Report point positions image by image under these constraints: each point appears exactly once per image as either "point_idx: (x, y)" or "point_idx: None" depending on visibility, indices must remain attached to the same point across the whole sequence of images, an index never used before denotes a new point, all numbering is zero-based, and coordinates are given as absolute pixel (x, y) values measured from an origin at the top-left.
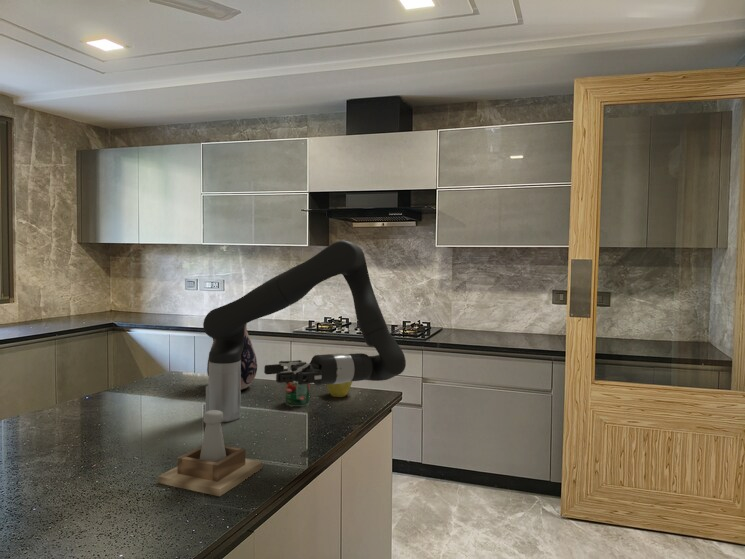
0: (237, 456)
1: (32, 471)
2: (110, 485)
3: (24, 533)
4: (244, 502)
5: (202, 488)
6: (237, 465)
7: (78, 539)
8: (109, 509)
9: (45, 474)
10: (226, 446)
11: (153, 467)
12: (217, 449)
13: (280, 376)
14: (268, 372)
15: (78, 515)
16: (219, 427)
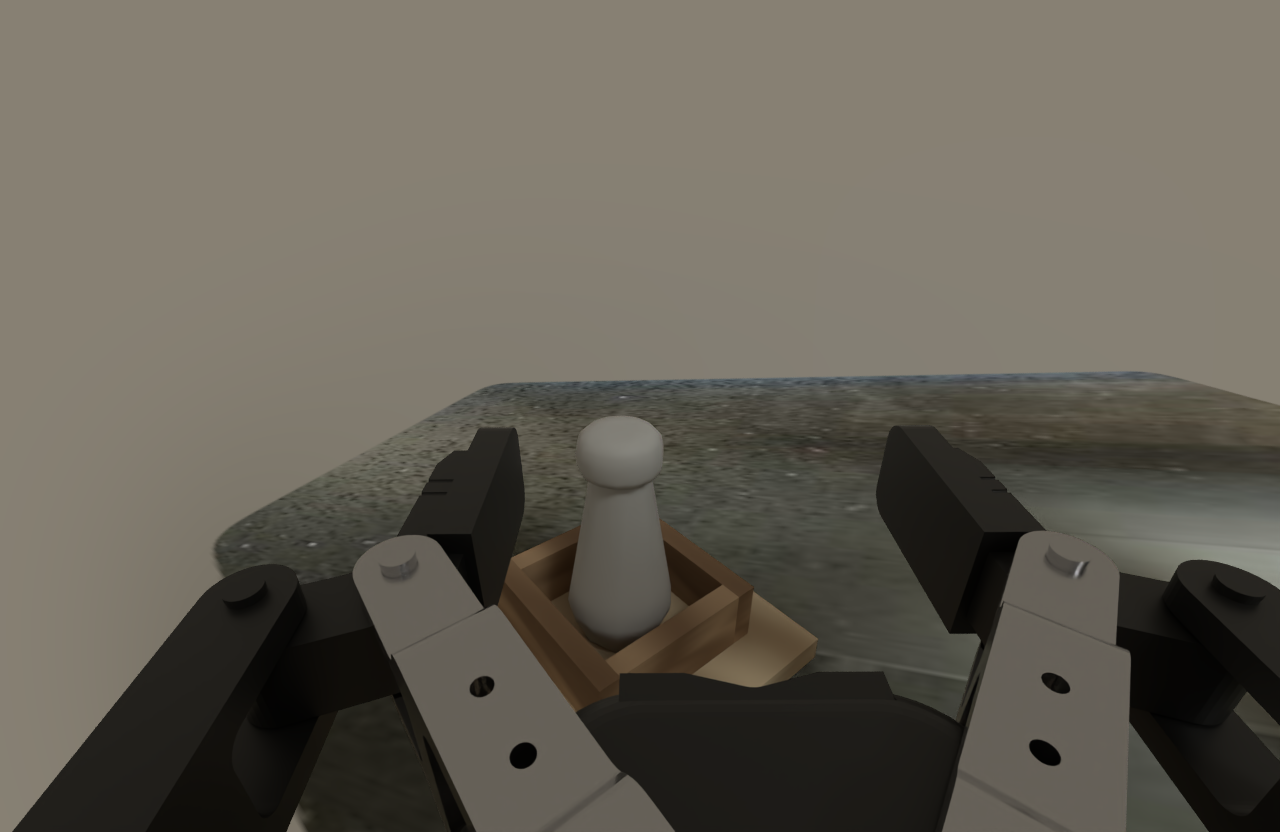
0: (561, 656)
1: (805, 394)
2: (675, 462)
3: (537, 391)
4: None
5: None
6: (563, 684)
7: (459, 425)
8: (547, 455)
9: (783, 404)
10: (677, 632)
11: (762, 528)
12: (575, 560)
13: (454, 459)
14: (893, 509)
15: (555, 427)
16: (593, 499)
